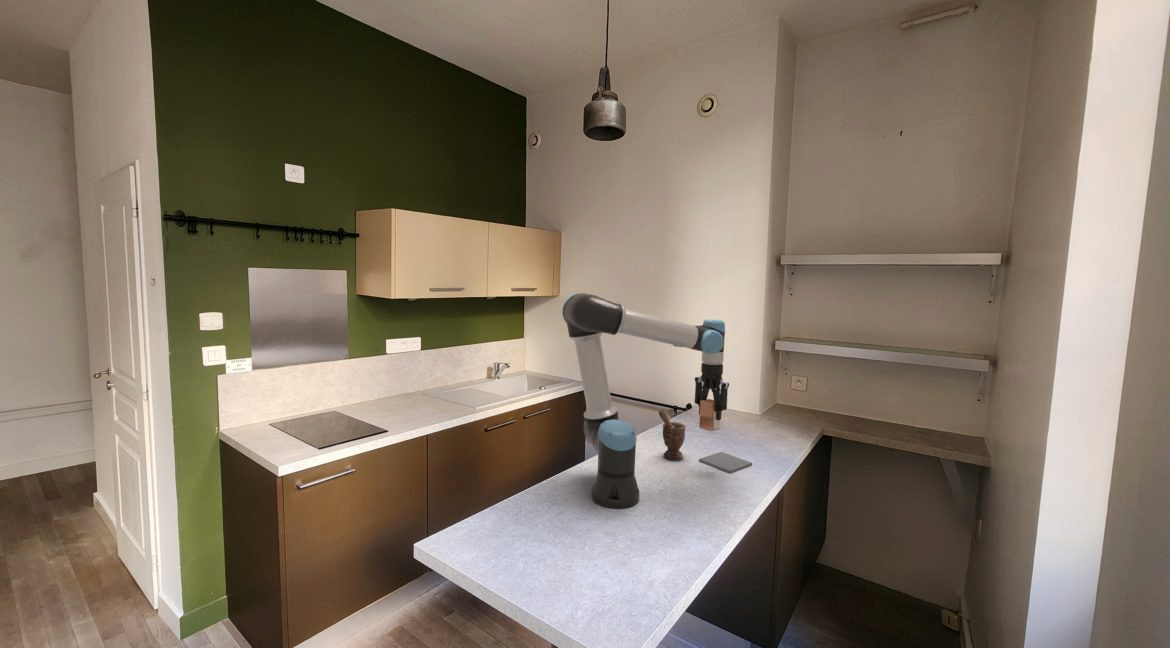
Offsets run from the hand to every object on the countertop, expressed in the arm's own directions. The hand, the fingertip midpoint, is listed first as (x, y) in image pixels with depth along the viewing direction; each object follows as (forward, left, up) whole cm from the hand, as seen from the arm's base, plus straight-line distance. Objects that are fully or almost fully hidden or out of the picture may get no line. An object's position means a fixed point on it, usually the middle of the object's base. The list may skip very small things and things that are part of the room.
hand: (709, 426), depth 170 cm
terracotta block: (0, 0, -1) cm, 1 cm away
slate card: (+12, +1, -17) cm, 21 cm away
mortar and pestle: (-2, +16, -17) cm, 23 cm away
